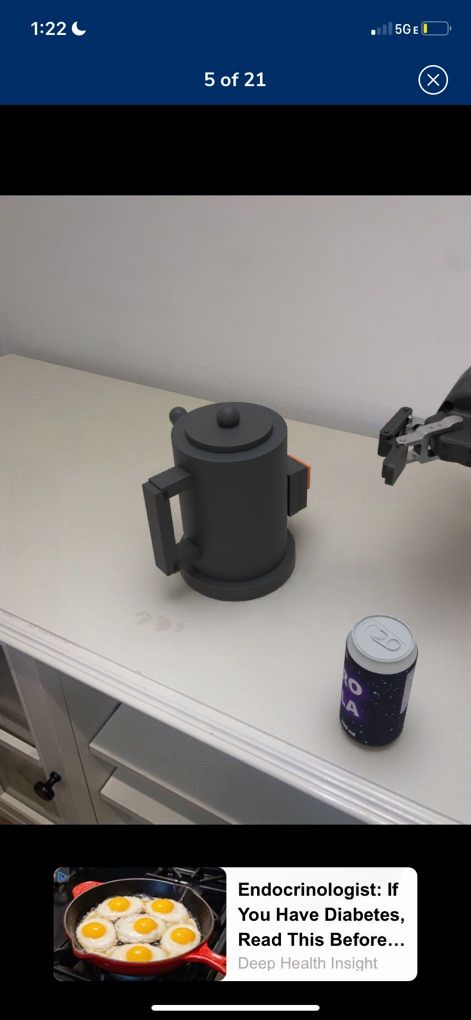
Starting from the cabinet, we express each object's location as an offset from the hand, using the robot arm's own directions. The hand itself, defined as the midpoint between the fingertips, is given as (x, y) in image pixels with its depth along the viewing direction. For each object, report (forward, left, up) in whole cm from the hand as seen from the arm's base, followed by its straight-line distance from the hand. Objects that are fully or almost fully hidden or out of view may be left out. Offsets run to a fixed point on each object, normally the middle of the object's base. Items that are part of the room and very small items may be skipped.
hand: (438, 490), depth 52 cm
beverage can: (+8, +7, -19) cm, 22 cm away
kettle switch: (+4, -22, -13) cm, 25 cm away
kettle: (+14, -20, -19) cm, 31 cm away
